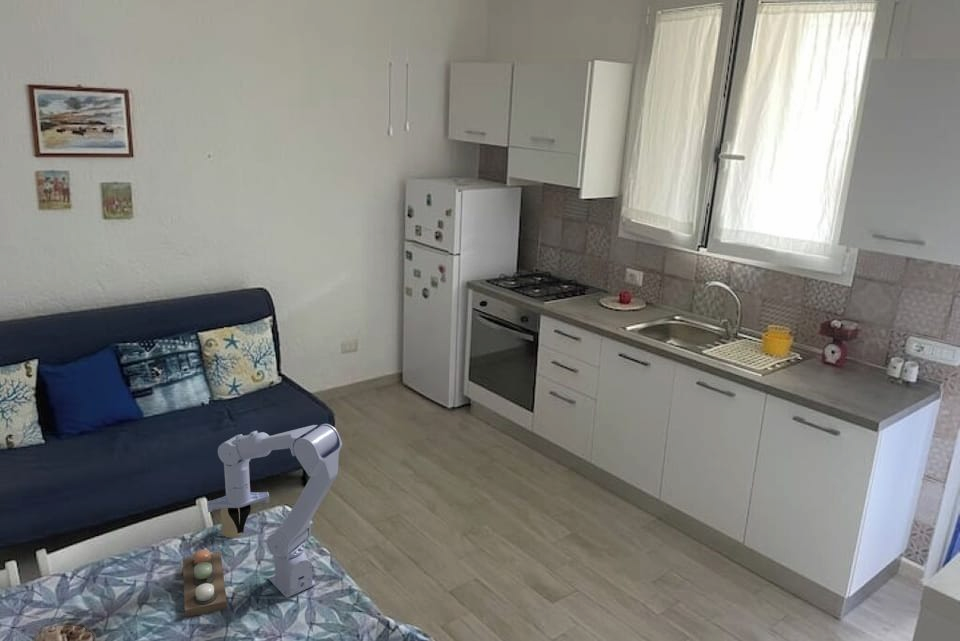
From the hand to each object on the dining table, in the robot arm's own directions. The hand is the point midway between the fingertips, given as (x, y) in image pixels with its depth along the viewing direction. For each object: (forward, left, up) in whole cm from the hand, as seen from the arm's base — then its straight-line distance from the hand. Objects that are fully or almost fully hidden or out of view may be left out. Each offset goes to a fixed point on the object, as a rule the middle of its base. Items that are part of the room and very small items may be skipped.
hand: (240, 530), depth 180 cm
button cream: (-10, +13, -7) cm, 18 cm away
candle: (+14, -4, -10) cm, 17 cm away
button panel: (-3, +11, -9) cm, 15 cm away
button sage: (-3, +11, -6) cm, 13 cm away
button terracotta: (+4, +9, -7) cm, 12 cm away
